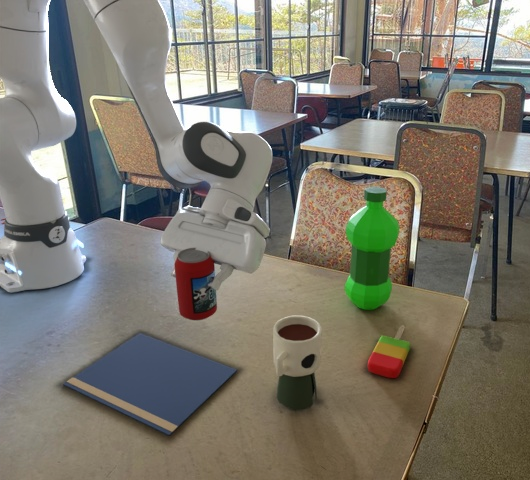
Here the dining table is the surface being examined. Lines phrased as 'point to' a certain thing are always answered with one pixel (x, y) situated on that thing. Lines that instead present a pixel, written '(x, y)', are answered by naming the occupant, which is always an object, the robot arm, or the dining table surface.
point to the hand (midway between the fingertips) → (193, 282)
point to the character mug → (296, 360)
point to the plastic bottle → (371, 251)
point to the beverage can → (195, 284)
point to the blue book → (152, 382)
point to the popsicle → (389, 355)
